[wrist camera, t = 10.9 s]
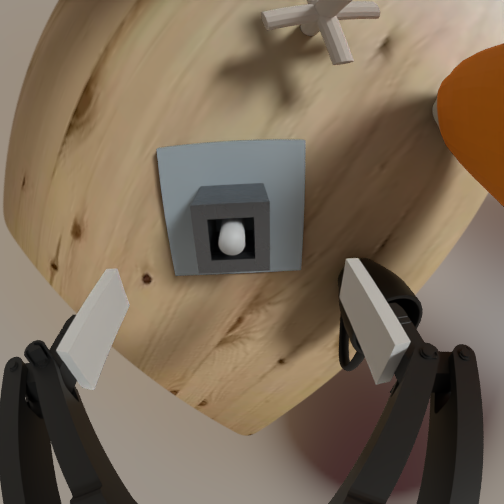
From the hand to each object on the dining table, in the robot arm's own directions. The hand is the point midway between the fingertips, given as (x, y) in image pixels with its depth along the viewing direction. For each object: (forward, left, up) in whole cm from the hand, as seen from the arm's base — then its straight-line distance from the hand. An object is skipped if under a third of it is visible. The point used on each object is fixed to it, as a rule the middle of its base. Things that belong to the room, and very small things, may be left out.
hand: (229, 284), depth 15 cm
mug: (+11, +14, -14) cm, 23 cm away
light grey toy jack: (-19, +8, -14) cm, 25 cm away
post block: (0, 0, -14) cm, 14 cm away
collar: (+1, 0, -13) cm, 13 cm away
